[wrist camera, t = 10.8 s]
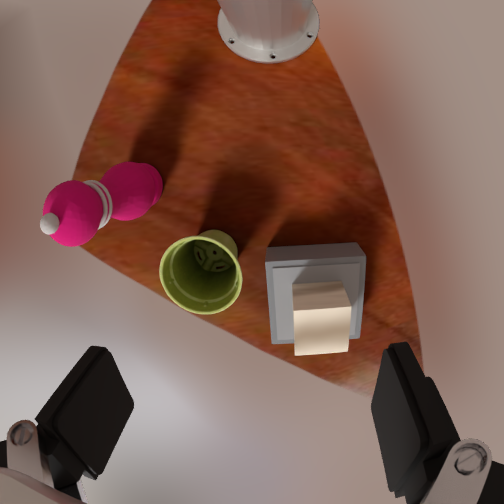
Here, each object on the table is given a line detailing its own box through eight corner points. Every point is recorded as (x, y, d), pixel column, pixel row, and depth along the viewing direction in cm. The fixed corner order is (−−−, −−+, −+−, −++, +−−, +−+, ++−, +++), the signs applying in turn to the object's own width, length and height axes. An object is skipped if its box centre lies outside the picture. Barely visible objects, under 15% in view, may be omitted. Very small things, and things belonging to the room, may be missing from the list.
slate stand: (267, 247, 39) (265, 262, 35) (356, 242, 38) (366, 256, 33) (273, 323, 44) (271, 344, 39) (352, 318, 42) (359, 338, 37)
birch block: (291, 284, 35) (293, 310, 30) (341, 280, 35) (351, 306, 29) (293, 325, 37) (294, 355, 32) (339, 322, 37) (347, 351, 31)
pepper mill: (114, 198, 39) (13, 245, 20) (130, 151, 36) (23, 169, 18) (155, 219, 40) (68, 283, 21) (174, 171, 37) (83, 203, 18)
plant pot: (172, 228, 40) (146, 250, 32) (236, 207, 38) (224, 225, 30) (197, 288, 43) (179, 321, 35) (259, 272, 41) (253, 304, 33)
